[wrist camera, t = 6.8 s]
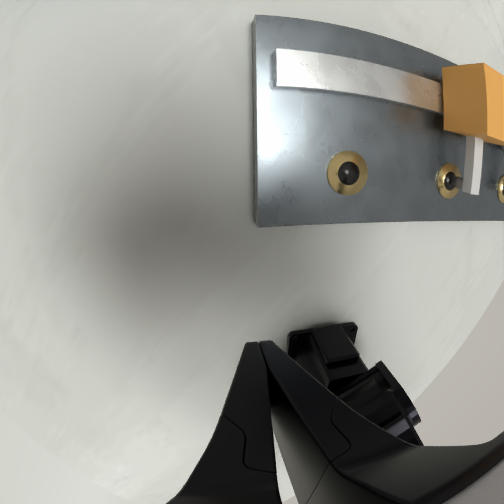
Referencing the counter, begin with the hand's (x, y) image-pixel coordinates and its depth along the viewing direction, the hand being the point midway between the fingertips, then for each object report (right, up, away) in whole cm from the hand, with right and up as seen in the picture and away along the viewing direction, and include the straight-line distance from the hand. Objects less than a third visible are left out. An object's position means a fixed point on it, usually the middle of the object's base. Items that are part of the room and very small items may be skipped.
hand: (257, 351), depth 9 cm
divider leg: (+17, +13, +8) cm, 23 cm away
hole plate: (+15, +13, +10) cm, 22 cm away
